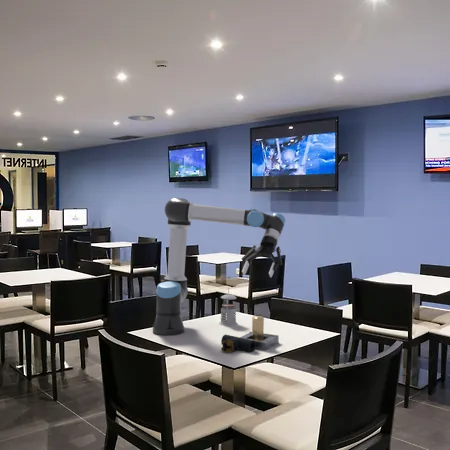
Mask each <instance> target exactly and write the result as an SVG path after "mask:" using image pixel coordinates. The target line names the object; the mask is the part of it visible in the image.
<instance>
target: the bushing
mask: <svg viewBox="0 0 450 450" xmlns="http://www.w3.org/2000/svg"><path fill="white" fill-rule="evenodd" d="M251 322H252V323H251V324H252V325H251V328H252V329H251V332H252V339H253V340H260V341H263V337H264V333H265V331H264V329H265V328H264V326H265V318H264V316H262V315H261V316H260V315H256V316H254V315H253V316H252V321H251Z"/></svg>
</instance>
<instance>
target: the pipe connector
mask: <svg viewBox="0 0 450 450" xmlns="http://www.w3.org/2000/svg"><path fill="white" fill-rule="evenodd" d="M240 337H241V336H240ZM240 337H239V336H234V335H229V334H224V335H223V336H222V337H221V340H220V341H221V342H220V344H221V345H222V347H221V348H220V351H221V352H225V353H228V354H230V353H233V352H234V351H238V350H239V351H244V352H248V353H253V352H255V350H257V349H256V342H255V341H254V340H249V339H244V338H240Z"/></svg>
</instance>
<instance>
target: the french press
mask: <svg viewBox="0 0 450 450" xmlns="http://www.w3.org/2000/svg"><path fill="white" fill-rule="evenodd" d="M226 278H227V279H231V275H227V277H226ZM227 292H228V294H227V293H226V294H224V295H221V296H220V299H222V300H223V302H226V303H223V304H222V305H221V306H222V307H221V308H220V315H221V316H220V322H218V324H219V325H220V326H225V327H226V326H227V327H230V326H231V327H232V326H238V322H237V319H236V318H237V307H236V304H234V303H229V302H230V301H231V300H232V301H233V300H237V297H236V296H235V295H234V294H230V289H228V290H227Z"/></svg>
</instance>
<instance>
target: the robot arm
mask: <svg viewBox="0 0 450 450" xmlns="http://www.w3.org/2000/svg"><path fill="white" fill-rule="evenodd" d="M164 214H165V216H166V218H167V226H168V227H169V228H170V230H169V245H168V261H167V274H166V275H165V277H163V282H160V283H158V284H157V286H156V293H155V294H156V316H155V320H154V322H153V326H152V333H153V334H156V335H160V336H175V335H180V334H181V335H182V333H184V332H185V326H184V323H183V320H182V319H183V317H182V314H181V313H182V312H181V305H182V303H184V301H185V300H186V299H187V297H188V292H189V290H188V285H187V283H188V278H187V277H186V276H185V270H186V269H185V268H186V256H187V255H186V254H187V253H186V252H187V239H188V237H187V236H188V230H189V228H190V227H191V225H192V224H191V223H192V222H191V221H199V222H201V221H202V222H210V223H218V224H228V225H239V226H245V227H251V228H261V229H263V230H265V232H264V233H263V236H262V238H261V240H260V243H259V246H256V245H252V247H251V249H250V250H249V251H248V252H246V254H244V256H242V257H241V261H242V263H243V264H242V270H241V273H242V275H243V276H246V273H247V272H248V269H249V266H250V263H252V261H254V260H256V259H258V258H260V257H270V258H271V260H272V261H273V262H272V264H271V266H270V269H269V271H268V276H269V278H272V277H273V275H274V273H275V272H276V271H277V268H278V266H283V260H282V256H281V252H282V251H281V248H280V246H277V245H278V242H279V239H280V237H281V234H282V232H283V230H284V226H285V223H286V217H285V216H284V215H283V214H282V213H279V212H278V213H275V212H274V213H273V214H267V213H265V212H263V211H260V210H258V209H256V208H252V207H249V208H248V209H243V208H234V207H224V206H215V205H205V204H196V203H194V202H193V201H189V200H188V199H186V198H179V197H175V198H171V199H170V200H168V201H167V202H166V204H165V205H164ZM273 253H276V255H277V259H278V260H277V259H276V257H275V256H274V254H273Z"/></svg>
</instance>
